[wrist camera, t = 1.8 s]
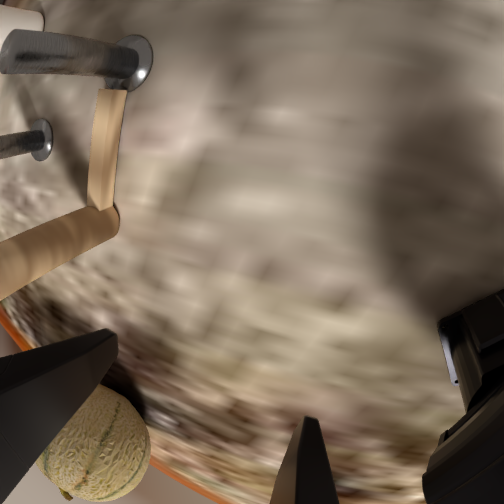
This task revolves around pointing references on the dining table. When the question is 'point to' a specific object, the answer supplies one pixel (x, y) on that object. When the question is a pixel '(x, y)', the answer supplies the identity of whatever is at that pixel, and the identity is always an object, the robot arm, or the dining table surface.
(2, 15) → the cream white cylinder
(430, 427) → the dining table surface
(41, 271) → the gate
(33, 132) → the post
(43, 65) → the post
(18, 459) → the robot arm
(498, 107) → the dining table surface
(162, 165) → the dining table surface
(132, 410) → the cantaloupe
